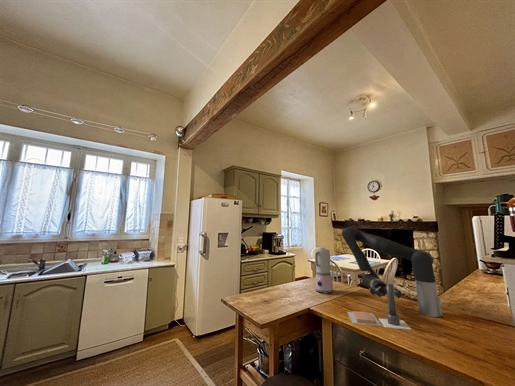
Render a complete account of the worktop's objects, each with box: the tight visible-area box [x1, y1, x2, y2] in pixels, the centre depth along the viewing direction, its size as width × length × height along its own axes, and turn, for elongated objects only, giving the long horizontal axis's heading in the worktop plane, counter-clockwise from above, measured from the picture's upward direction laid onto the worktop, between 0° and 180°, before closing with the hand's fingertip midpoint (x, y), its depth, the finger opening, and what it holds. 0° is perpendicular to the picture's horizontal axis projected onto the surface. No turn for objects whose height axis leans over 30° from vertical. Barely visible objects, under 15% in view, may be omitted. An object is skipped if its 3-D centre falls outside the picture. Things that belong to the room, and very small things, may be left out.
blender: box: [314, 246, 334, 295], centre depth 156 cm, size 16×12×32 cm
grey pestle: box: [385, 283, 401, 326], centre depth 103 cm, size 5×5×18 cm
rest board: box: [378, 318, 412, 331], centre depth 101 cm, size 11×9×1 cm
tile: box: [352, 310, 375, 325], centre depth 108 cm, size 8×2×10 cm
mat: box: [347, 311, 381, 326], centre depth 109 cm, size 13×14×1 cm
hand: (389, 295), depth 106 cm, fingers open, 8 cm apart
